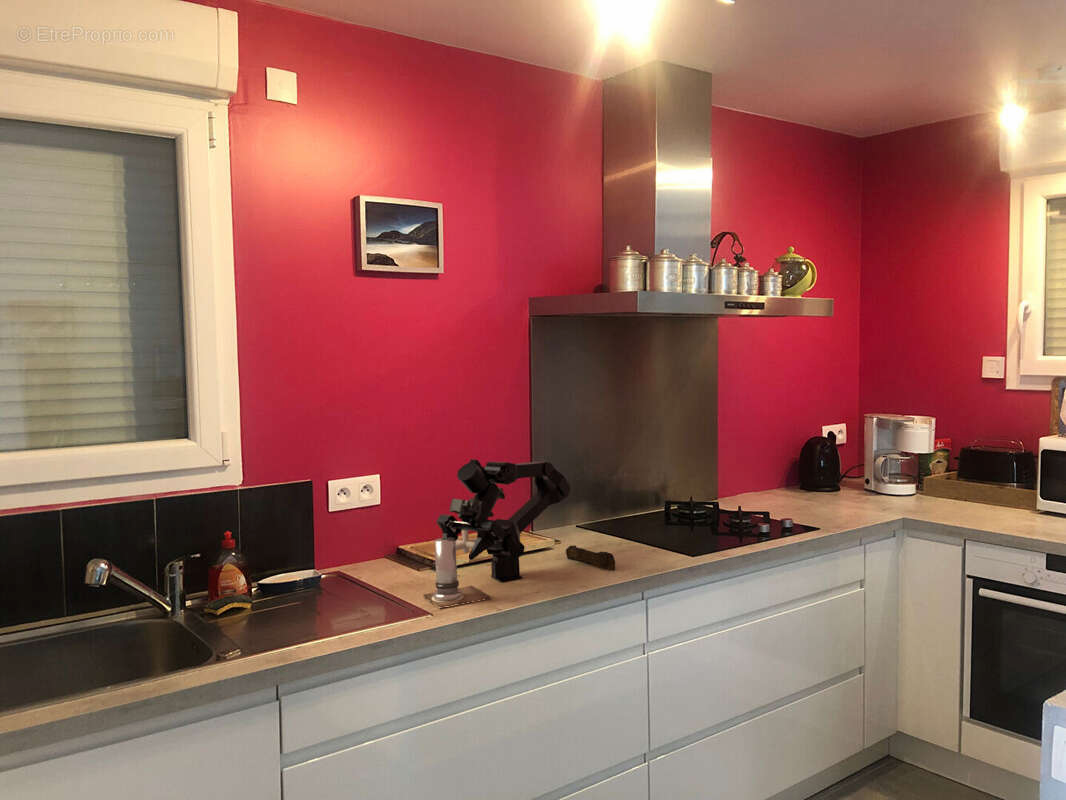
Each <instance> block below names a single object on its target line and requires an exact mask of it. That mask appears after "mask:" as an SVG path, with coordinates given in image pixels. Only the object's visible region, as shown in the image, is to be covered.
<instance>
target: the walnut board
mask: <svg viewBox="0 0 1066 800" xmlns="http://www.w3.org/2000/svg"><path fill="white" fill-rule="evenodd" d="M458 589H460V590H461V591H462V597H461V598H460V599H457V600H454V601H437V600H435V599H434V594H433V593H434V592H430V593H429V592H428V593H426V594H425V593H424V594H423V596H422V597H425V598H426V599H428V600H430V601H431V602H433V603H434V604H436V605H437V606H438V607H444V606H451V605H455V604H462V603H467V602H472V601H478V600H483V599H489V600H491V595H489V594H487V593H485V592H484V591H482V590H480V589H479V588H477V587H475V586H474V585H468V586H463V587H458ZM426 599H425V600H426Z"/></svg>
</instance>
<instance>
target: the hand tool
mask: <svg viewBox="0 0 1066 800" xmlns="http://www.w3.org/2000/svg"><path fill="white" fill-rule="evenodd" d="M565 554H566V558H567V559H568V560H572V561H573V560H576V561H580V562H584V563H587V564H591V565H594V566H597V568H598V569H600V570H607V571H615V570H616V560H615V557H614V554H613V553H611V552H607V551H603V550H602V551H598V552H597V551H596V552H595V551H592V550H587V549H584V548H581V547H577V545H569V546H568V547H567V548H566V549H565Z"/></svg>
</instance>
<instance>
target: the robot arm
mask: <svg viewBox="0 0 1066 800" xmlns="http://www.w3.org/2000/svg"><path fill="white" fill-rule="evenodd" d="M456 476H457V479H458V480H459V481H460V483H461V484H462V485H463V486H464V487H465V488H466V489H467V490H468V491H469V492H470V493H471V494H474V495H473V497H472V498H470V497H469V499H467V500H466V499H461V498H460V499H459V498H451V502H450V505H449V506H450V507H449V512H451V513H454V514H458V515H457V518H459V519H460V520H461V521H459V520H458V519H457V518H456V517H455V516H454V515H452V514H440V515H439V516H438V518H437V520H436V525H438V527H439V528H440V529H441V531H442V538H454V539H455V542H456V540H459V535H460V534H462V530H467V531H468V532H469V531H470V532H474V533H475V532H477V533H476V538H477V539H476V541H475V543H474V545H473V548H471V550H470V551H469V559H470V561H473V560H474V559H475V558H477V557H479V555H480V554H483V552H485V551H486V553H487V555H489V556H490V555H492V561H491V562H490V563H491V564H490V565H491V567H490V568H491V569H490V570H491V575H490V578H492V579H495V580H496V581H498V582H501V583H503V582H508V581H514V580H519V579H523V578H524V577H523V575H522V574H521V571H520V557H521V556H523V555H524V552H525V545H524V544H523V543H522V542H521V533H523V532H524V531H525V530H526V529H527V528H528V527H529V526H530V525H531V524H532V523H533V522H534V521H535V520H536V519H537V518H538V517H539V516H540V515H541V514H542V513H544V512H545V510H546V509H547V508H548V507H550V506H552V505H556V504H558V503H559V504H560V503H561V502H563V501H564V500H566V499H567V498H568V497H569V495H570V492H571V486H570V484H569V483H570V482H568V480H567V479H566V477H565V475H563V474H562V473H561V472H560V471H559V470H557V469H556V468H555V467H554V466H553V464H552V463H551V462H550V461H548V460H547V461H542V460H535V461H530V462H520V463H518V462H517V463H512V462H507V461H504V462H503V461H495V460H494V461H491V460H490V461H487V462H486V464H485V466H482V464H481V462H480V461H479V460H478V459H473V458H471V459H470V461H468V463H465V464H463V465H462V467H460V468H459V469H458V470H457V474H456ZM532 477H533V478H534V485H535V486H536V488H535V489H536V490H535V494H534V495H533V496H532V497H531V498H529V499H528V501H526V502H525V503H524V504H523V505H522V506H521V507H520V508H519V509H518V510H516V512H514V513H513V514H512V515H511V516H510V517H509V518H508V519H503V518H502V519H501V518H497V519H489V518H493V517H494V512H493V510H494V507H495V505H496V504H497V502H498V500H499V499H500V500H505V499H506V496H505V493H504V492H505V491H504V488H503V487H502V488H501V487H499V486H498V485H509V484H512V483H515V482H516V481H517V480H518V479H525V478H532Z"/></svg>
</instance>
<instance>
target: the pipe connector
mask: <svg viewBox="0 0 1066 800" xmlns="http://www.w3.org/2000/svg"><path fill="white" fill-rule="evenodd" d="M476 539H477V537H474V538H472V539H471V538H469V531H467V530H462V531H461V539H457V540H456V542H455V544H456V552H457V551H460V550H462V554H463V553H468V552H469V553H470V549H472V548H473V545H474V543H475V541H476Z"/></svg>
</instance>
